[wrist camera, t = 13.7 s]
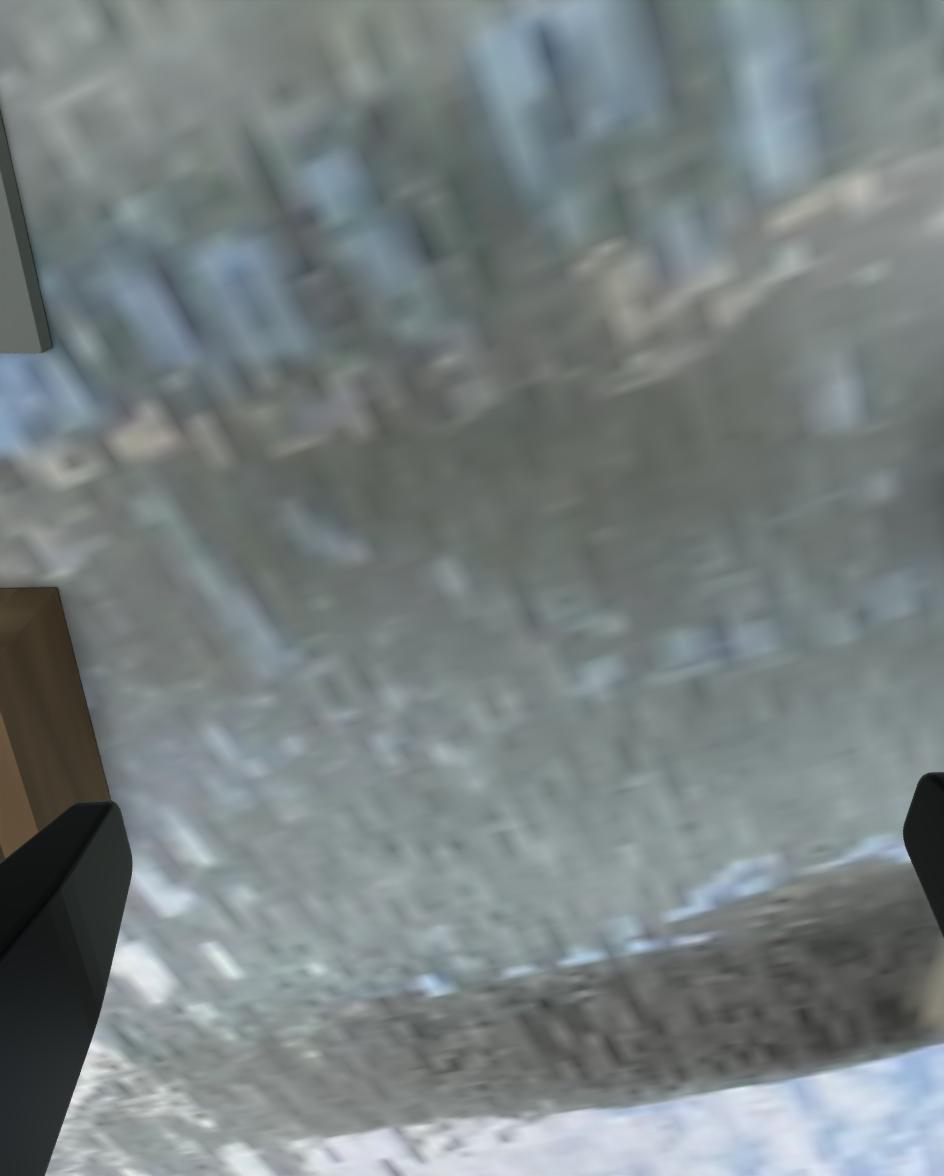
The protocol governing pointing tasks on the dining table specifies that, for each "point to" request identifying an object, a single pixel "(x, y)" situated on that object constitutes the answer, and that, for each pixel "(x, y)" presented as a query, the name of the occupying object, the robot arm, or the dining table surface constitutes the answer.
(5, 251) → the grey mat
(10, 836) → the walnut sleeve
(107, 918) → the robot arm
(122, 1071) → the dining table surface
